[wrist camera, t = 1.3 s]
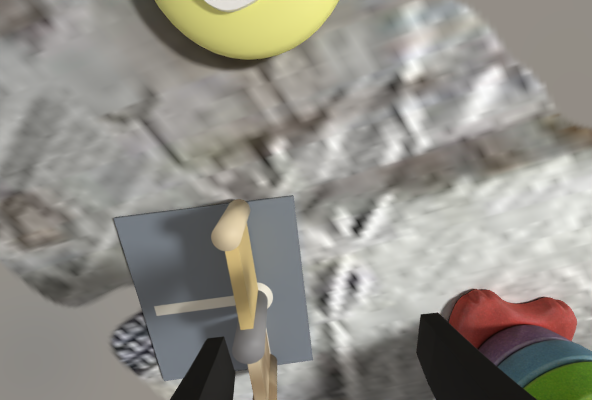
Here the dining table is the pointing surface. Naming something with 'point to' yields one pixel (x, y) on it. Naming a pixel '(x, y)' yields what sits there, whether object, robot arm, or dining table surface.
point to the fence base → (264, 376)
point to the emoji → (247, 24)
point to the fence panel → (242, 282)
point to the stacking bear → (528, 343)
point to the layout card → (214, 281)
